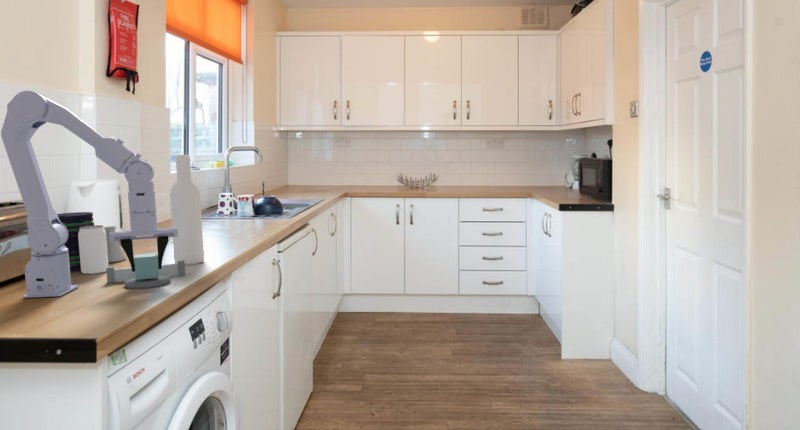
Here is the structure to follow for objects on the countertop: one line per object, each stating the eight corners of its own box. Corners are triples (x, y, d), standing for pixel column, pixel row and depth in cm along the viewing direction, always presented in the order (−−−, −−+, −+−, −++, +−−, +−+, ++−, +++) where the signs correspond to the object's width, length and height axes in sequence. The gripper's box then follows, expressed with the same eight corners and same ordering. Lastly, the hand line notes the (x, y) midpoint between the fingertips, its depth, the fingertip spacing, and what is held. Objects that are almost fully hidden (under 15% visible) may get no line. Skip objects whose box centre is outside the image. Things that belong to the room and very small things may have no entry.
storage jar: (74, 265, 170) (70, 212, 168) (105, 265, 168) (101, 212, 166) (47, 272, 160) (42, 216, 159) (79, 272, 158) (75, 216, 157)
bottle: (168, 264, 167) (160, 155, 164) (188, 259, 174) (181, 154, 171) (190, 265, 164) (183, 154, 161) (210, 260, 171) (204, 154, 168)
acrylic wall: (184, 274, 152) (184, 260, 152) (185, 275, 151) (184, 261, 151) (107, 281, 146) (106, 267, 145) (107, 283, 144) (106, 268, 144)
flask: (117, 258, 180) (115, 224, 179) (131, 260, 176) (128, 226, 175) (93, 261, 174) (90, 227, 173) (106, 264, 170) (104, 229, 169)
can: (78, 275, 155) (74, 228, 153) (84, 270, 161) (80, 226, 160) (106, 273, 156) (102, 227, 155) (110, 268, 163) (107, 224, 161)
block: (158, 273, 145) (156, 252, 145) (159, 277, 141) (157, 255, 140) (135, 275, 143) (134, 254, 143) (135, 279, 139) (134, 257, 138)
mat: (163, 287, 137) (163, 283, 137) (117, 289, 137) (117, 285, 136) (175, 278, 147) (175, 274, 147) (133, 280, 146) (132, 276, 146)
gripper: (174, 208, 147) (178, 263, 148) (108, 212, 141) (113, 269, 142) (176, 211, 140) (180, 268, 142) (107, 215, 134) (112, 275, 136)
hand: (146, 269), depth 142 cm, fingers closed on block, 5 cm apart
